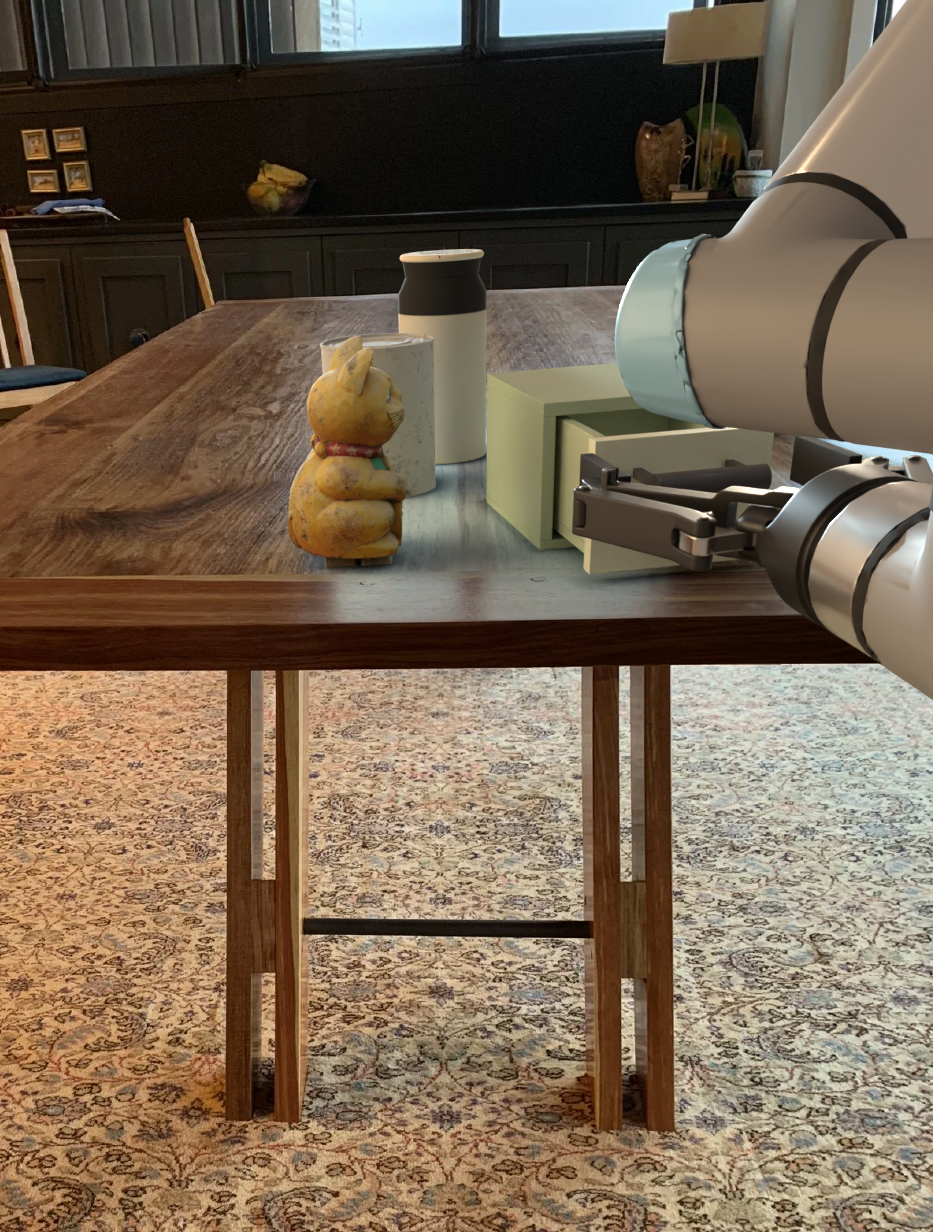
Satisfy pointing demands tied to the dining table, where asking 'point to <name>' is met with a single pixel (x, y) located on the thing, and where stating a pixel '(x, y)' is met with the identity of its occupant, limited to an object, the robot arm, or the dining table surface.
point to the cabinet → (539, 438)
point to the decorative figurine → (350, 465)
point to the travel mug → (451, 344)
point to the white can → (405, 401)
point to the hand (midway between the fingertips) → (692, 466)
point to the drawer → (652, 468)
